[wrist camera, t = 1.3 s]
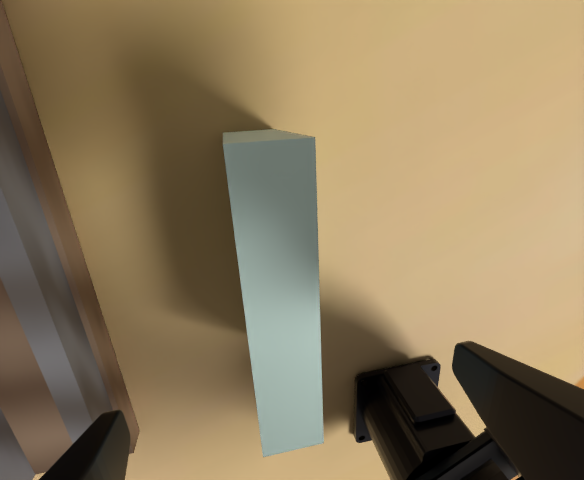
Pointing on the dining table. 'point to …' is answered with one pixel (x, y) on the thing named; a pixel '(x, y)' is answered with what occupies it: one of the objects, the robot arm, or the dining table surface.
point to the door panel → (279, 280)
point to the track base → (44, 299)
